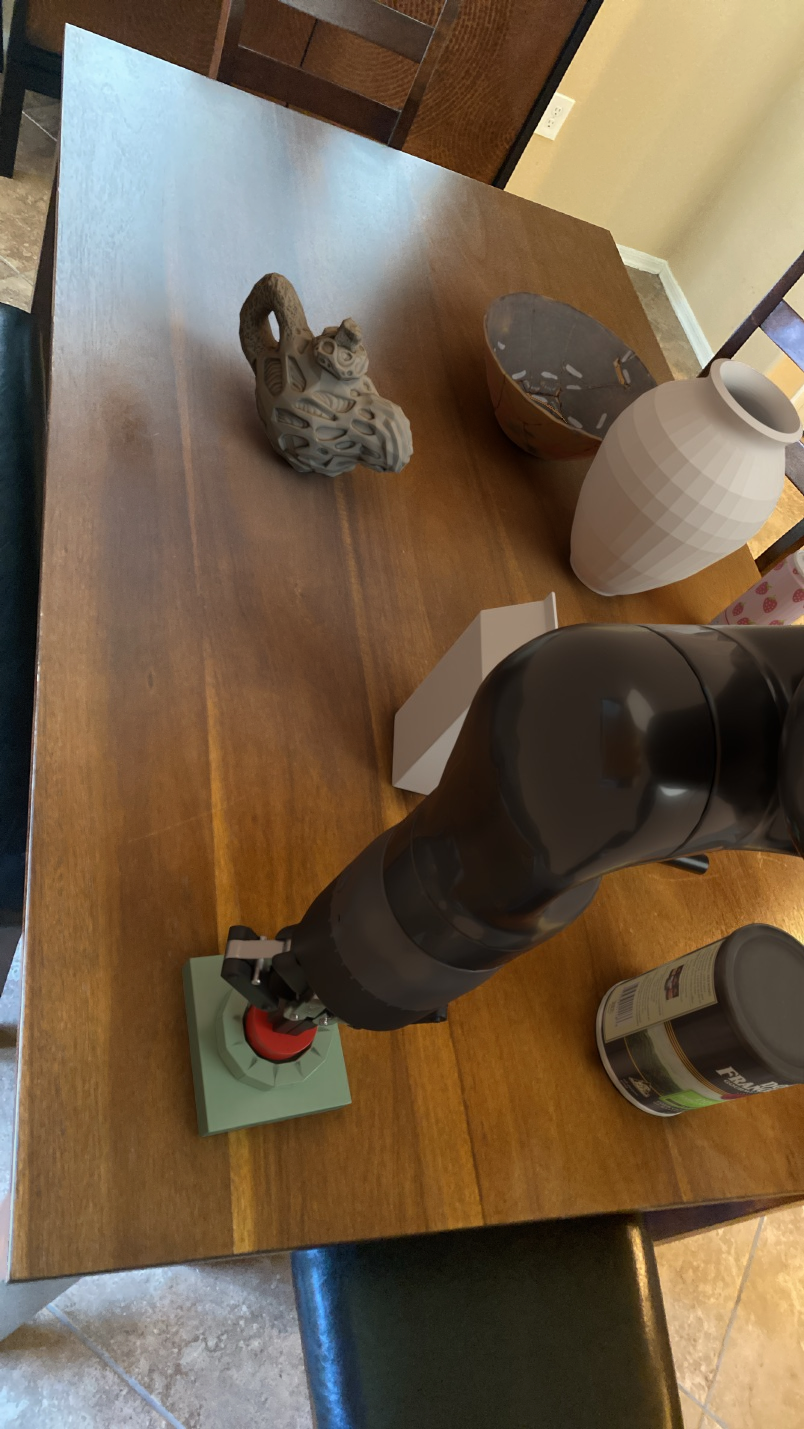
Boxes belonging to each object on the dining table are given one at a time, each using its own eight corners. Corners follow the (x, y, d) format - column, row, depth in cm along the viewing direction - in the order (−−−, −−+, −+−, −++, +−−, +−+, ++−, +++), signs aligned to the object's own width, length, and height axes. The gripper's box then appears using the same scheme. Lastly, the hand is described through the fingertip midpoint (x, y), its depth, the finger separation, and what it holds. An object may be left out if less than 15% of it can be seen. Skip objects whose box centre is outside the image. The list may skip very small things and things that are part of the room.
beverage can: (706, 624, 101) (806, 540, 90) (740, 661, 100) (845, 581, 89) (684, 641, 97) (785, 556, 86) (719, 680, 96) (826, 599, 85)
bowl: (546, 357, 118) (590, 293, 110) (650, 494, 111) (704, 436, 103) (405, 357, 103) (444, 283, 95) (515, 517, 96) (566, 451, 88)
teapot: (405, 497, 89) (476, 381, 78) (339, 542, 82) (408, 421, 70) (256, 360, 90) (304, 226, 79) (177, 391, 83) (218, 248, 71)
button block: (339, 1109, 55) (363, 1098, 52) (198, 1138, 51) (216, 1128, 48) (312, 953, 60) (333, 935, 57) (181, 967, 55) (196, 949, 52)
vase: (577, 644, 89) (755, 469, 70) (502, 511, 95) (647, 318, 76) (687, 627, 99) (868, 471, 80) (612, 508, 105) (764, 336, 86)
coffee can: (715, 1119, 67) (867, 1086, 56) (606, 1114, 63) (746, 1078, 52) (687, 984, 72) (820, 930, 62) (585, 972, 69) (708, 913, 58)
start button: (313, 1054, 53) (323, 1048, 51) (250, 1065, 51) (258, 1059, 49) (302, 988, 54) (312, 980, 53) (240, 996, 53) (249, 988, 51)
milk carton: (390, 787, 70) (513, 656, 55) (393, 714, 74) (509, 575, 59) (468, 807, 72) (606, 687, 58) (467, 736, 76) (595, 606, 62)
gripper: (255, 975, 34) (160, 1064, 47) (542, 1035, 38) (382, 1102, 51) (282, 808, 38) (189, 932, 51) (538, 878, 42) (391, 976, 56)
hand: (286, 1016), depth 51 cm, fingers closed
